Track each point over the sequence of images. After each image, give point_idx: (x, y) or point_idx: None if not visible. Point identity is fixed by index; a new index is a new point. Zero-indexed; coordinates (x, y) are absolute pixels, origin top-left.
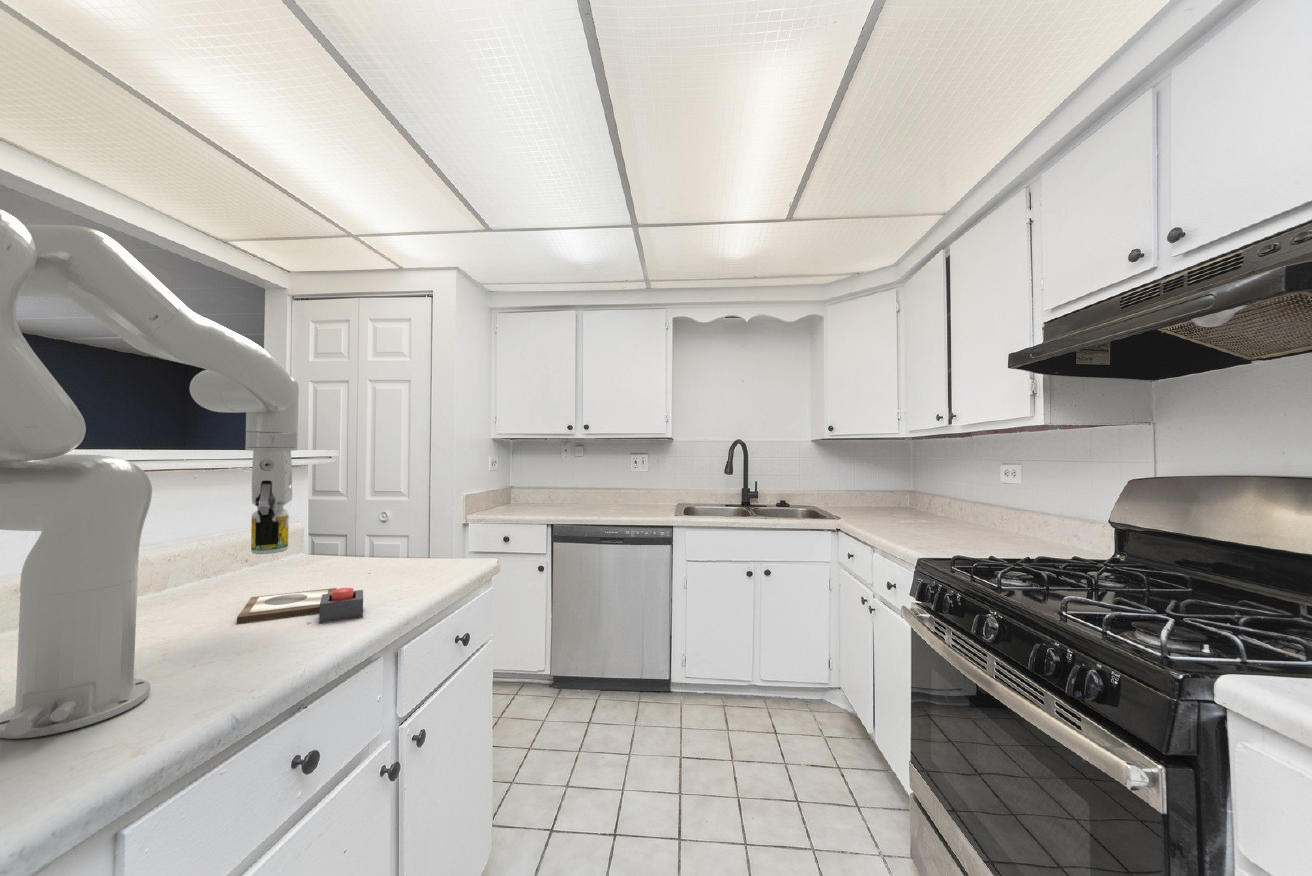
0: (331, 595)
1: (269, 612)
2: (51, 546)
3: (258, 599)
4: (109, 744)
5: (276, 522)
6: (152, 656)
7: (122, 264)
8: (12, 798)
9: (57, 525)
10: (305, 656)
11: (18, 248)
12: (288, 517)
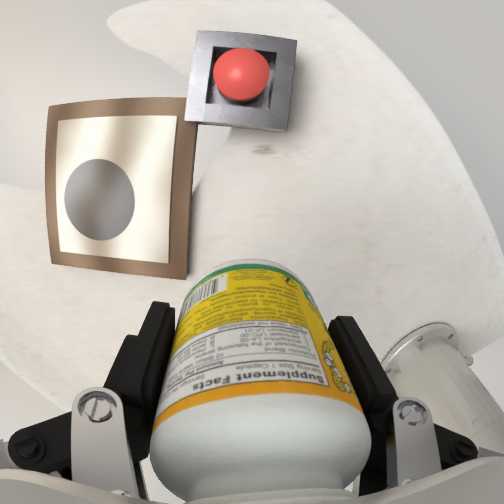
0: (205, 99)
1: (181, 227)
2: None
3: (75, 251)
4: (486, 318)
5: (390, 396)
6: None
7: None
8: (499, 337)
9: None
10: (439, 178)
11: None
12: (270, 375)
